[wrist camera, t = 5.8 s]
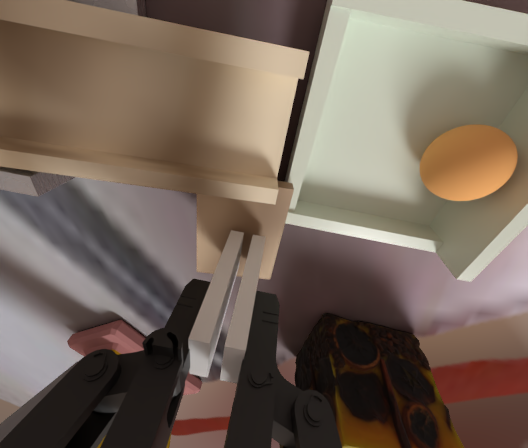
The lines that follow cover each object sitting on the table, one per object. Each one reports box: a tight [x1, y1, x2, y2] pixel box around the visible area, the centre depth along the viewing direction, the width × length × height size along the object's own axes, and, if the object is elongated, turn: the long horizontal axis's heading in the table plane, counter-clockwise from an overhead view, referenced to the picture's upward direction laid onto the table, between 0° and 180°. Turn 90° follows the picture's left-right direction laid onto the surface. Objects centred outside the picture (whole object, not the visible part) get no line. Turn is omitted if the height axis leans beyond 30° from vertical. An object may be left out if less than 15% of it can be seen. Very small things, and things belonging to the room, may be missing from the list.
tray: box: [285, 0, 528, 282], centre depth 12 cm, size 11×11×5 cm
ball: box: [419, 124, 518, 201], centre depth 11 cm, size 4×4×4 cm
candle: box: [295, 314, 464, 448], centre depth 22 cm, size 10×10×10 cm
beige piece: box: [0, 0, 309, 279], centre depth 11 cm, size 25×13×4 cm, turn 81°
